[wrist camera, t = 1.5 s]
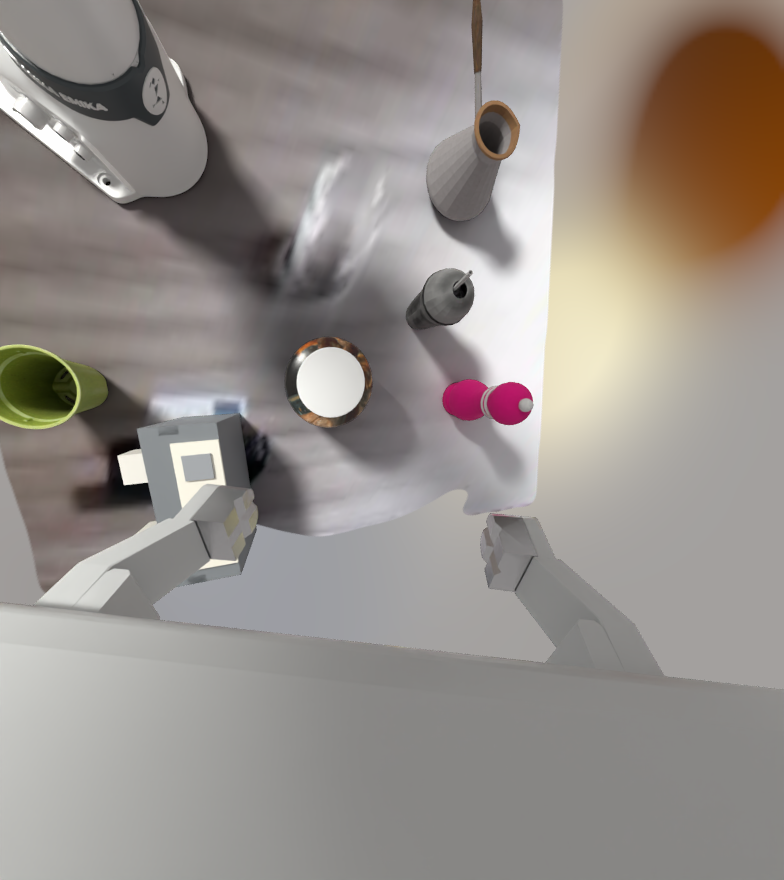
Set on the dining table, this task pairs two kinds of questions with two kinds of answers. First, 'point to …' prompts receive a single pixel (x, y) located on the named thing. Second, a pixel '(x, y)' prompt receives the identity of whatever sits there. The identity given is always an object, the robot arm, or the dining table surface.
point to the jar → (328, 382)
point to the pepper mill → (488, 401)
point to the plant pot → (45, 387)
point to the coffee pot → (472, 149)
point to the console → (195, 472)
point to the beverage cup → (442, 300)
